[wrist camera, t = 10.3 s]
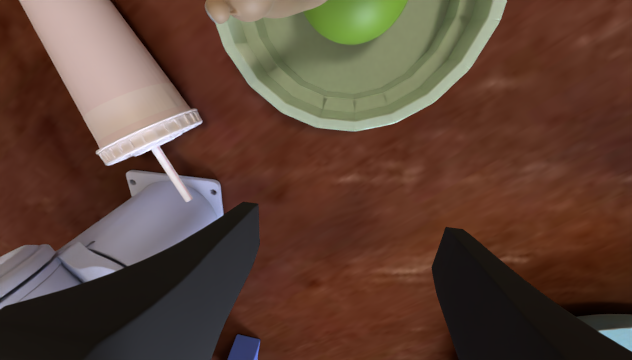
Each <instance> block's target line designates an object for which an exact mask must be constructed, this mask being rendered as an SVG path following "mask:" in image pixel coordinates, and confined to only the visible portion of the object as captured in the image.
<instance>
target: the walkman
mask: <svg viewBox="0 0 632 360" xmlns="http://www.w3.org/2000/svg"><path fill="white" fill-rule="evenodd" d="M259 345H260V339H256V338H252V337H247V336H243V335H239V334H237V336H236V339H235V341H234V344H233V346H232V349H231V351H230V354H229V356H228V359H227V360H257V358H258V351H259Z"/></svg>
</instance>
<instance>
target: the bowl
mask: <svg viewBox="0 0 632 360" xmlns="http://www.w3.org/2000/svg"><path fill="white" fill-rule="evenodd" d="M506 2H507V0H408V2H407V4H406V6H405V8H404V10H403V12H402V13H401V15H400V16H399V18H398V19H397V20H396V21H395V23H394V24H393V25H392V26H391V27H390V28H389V29H388V30H387V31H385V32H384V33H383V34H381V35H380V36H378V37H377V38H375V39H373V40H371V41H368V42H365V43H361V44H354V45H347V44H340V43H336V42H333V41H331V40H329V39H327V38H325V37H324V36H322V35H321V34H320V33H318V32H317V31H316V30H315V29H314V28H313V27H312V25H311V24H310V23H309V21H308V20H307V18H306V17H305V15H304V13H303V12H300V13H297V14H294V15H291V16H288V17H284V18H265V17H263V18H261V19H259V20H257V21H253V22H244V21H240V20H238V19H236V18H235V17H233V16H232V15H230V16H229V19H228V20H227V21H226V22H225V23H223V24H218V23H216V26H217V29H218V32H219V35H220V38H221V40H222V43H223V46H224V48H225V50H226V52H227V53H228V55H229V56H230V58H231V59H232V61H233V62H234V64H235V65H236V66H237V68H238V69H239V71H240V72H241V74H242V75H243V77H244V78H245V80H246V81H247V83H248V84H249V85H250V86H251V87H252V88H253V89H254V90H255V91H256V92H258V93H259V94H260V95H261V96H262V97H263V98H265V99H266V100H267V101H268V102H269V103H271V104H272V105H273V106H274V107H275V108H277V109H278V110H279V111H280V112H282V113H283V114H286V115H288V116H290V117H293V118H295V119H297V120H300V121H302V122H304V123H307V124H309V125H311V126H314V127H317V128H324V129H334V130H344V131H361V130H366V129H371V128H375V127H380V126H385V125H390V124H394V123H397V122H399V121H401V120H402V119H404V118H406V117H408V116H410V115H412V114H414V113H416V112H418V111H419V110H421V109H423V108H425V107H427V106H429V105H431V104H432V103H433V102H435V101H436V100H437V99H439V98H440V97H441V96H442V95H443V94H444V93H445V92H446V91H447V90H448V89H449V88H450V87H451V86H452V85H453V84H454V83H456V82H457V81H458V80H459V79H460V78H461V77H462V76H463V75H464V74H465V73H466V72H467V71H468V70H469V68H471V67H472V65H473V63H474V62H475V60H476V59H477V57H478V55H479V54H480V52H481V51H482V49H483V48H484V46H485V44H486V43H487V41H488V40H489V38H490V36H491V35H492V33H493V32H494V30H495V29H496V27H497V25H498V24H499V22H500V21H499V20H501V17H502V14H503V11H504V8H505V5H506Z"/></svg>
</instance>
